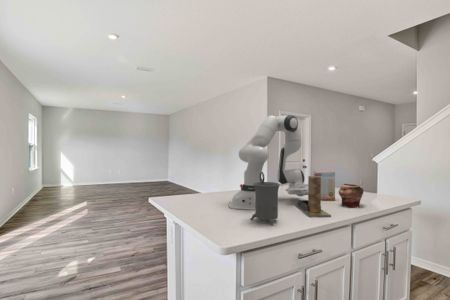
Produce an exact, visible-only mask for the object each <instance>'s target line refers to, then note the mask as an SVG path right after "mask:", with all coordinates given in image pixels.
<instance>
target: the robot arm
mask: <svg viewBox="0 0 450 300" xmlns="http://www.w3.org/2000/svg"><path fill="white" fill-rule="evenodd" d="M276 132H283V134H284V146H283V147H281V149H280V155H279V162H278V171H277V176H276V179H277V181H278V182H277V183H279V184H280V185H287V184H288V188H287V189H285V191H286V192H287V194H288V195H290V196H291V195H294V196H295V195H296V196H297V197H304V196H308V183H306V184H305V183H304V182H305V174H304V172H303V170H301V169H300V168H292V169H286V161H287V159H288V157H289V156H291V155H293V154H296V153H297V152H299V150H300V148H301V147H302V136H301V130H300V127H299V121H298V119H297V117H296V116H295V115H292V114H291V115H290V114H289V115H285V114H284V115H277V116H275V115H268V116H267V117H266V118H265V119H264V120H263V121H262V122H261V124H260V126H258V129H257V131H256V132H255V134H254V136H252V137H251V139H249V141H248V142H246V144H245V145H244V146H242V147H241V148H240V149H239V151H238V157H239V159H240V160H241V161H242V162H244V163H247V166H246V169H245V170H244V172H243V183H240V184H239V187H240V190H239V191H238V192H236V193H235V194H234V195H233V196H232V200H231V202H230V203H228V207H229V208H230V209H232V210H233V209H234V210H250V211H251V210H252V211H253V210H254V211H255V187H254V185H253V184H254V183H256V182H260V178H259V176H260V172H263V168H264V165H265V163H266V162H267V161H268V159H269V151H268V149H267V148H265V147H268V146H269V144H271V141H272V140H273V138H274V136H275V134H276Z"/></svg>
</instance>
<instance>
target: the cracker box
mask: <svg viewBox="0 0 450 300" xmlns="http://www.w3.org/2000/svg"><path fill="white" fill-rule="evenodd" d="M312 173H313V174H312V175H313V176H318V177H321V201H329V202H330V201H336V171H331V170H330V171H327V170H321V171H320V170H317V171H316V170H315V171H312Z"/></svg>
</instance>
